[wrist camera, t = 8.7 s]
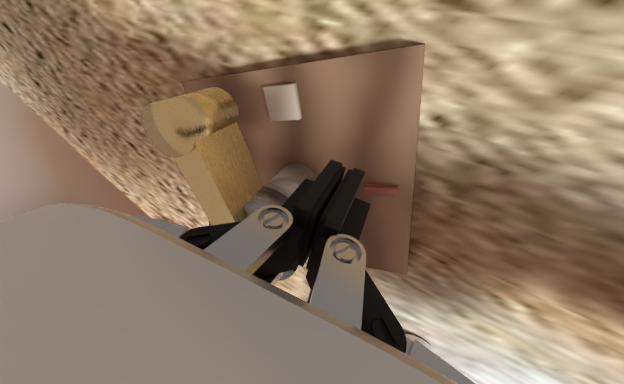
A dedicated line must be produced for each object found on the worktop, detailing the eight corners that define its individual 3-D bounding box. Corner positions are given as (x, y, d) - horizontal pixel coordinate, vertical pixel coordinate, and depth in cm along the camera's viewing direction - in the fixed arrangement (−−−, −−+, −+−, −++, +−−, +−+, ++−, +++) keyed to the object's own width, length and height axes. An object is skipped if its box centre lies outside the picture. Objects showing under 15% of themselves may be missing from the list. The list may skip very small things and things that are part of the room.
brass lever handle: (172, 100, 15) (108, 117, 12) (257, 71, 12) (201, 84, 9) (251, 253, 21) (222, 291, 18) (321, 259, 18) (301, 305, 15)
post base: (424, 43, 15) (428, 49, 10) (407, 263, 25) (404, 326, 20) (193, 79, 23) (122, 94, 17) (251, 238, 33) (217, 278, 27)
